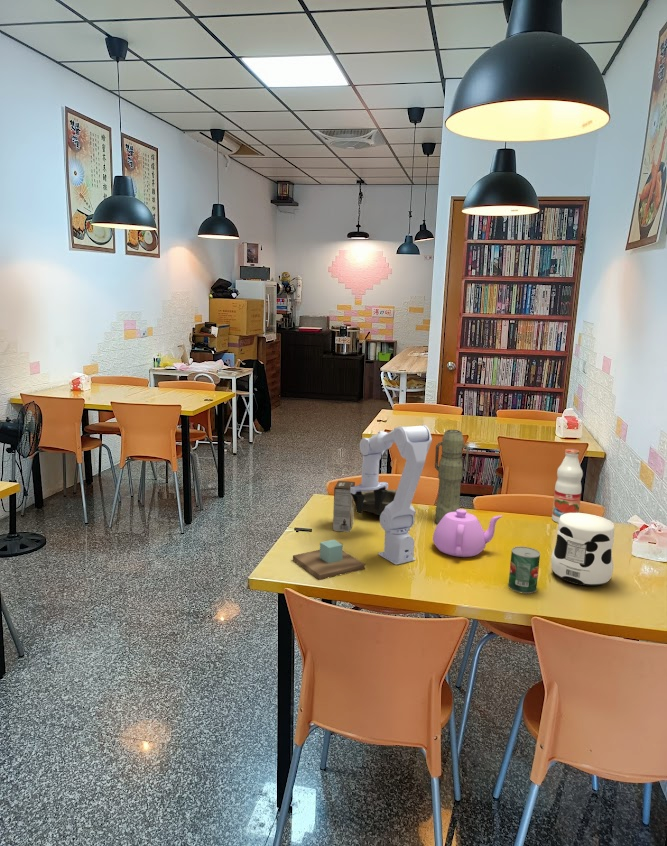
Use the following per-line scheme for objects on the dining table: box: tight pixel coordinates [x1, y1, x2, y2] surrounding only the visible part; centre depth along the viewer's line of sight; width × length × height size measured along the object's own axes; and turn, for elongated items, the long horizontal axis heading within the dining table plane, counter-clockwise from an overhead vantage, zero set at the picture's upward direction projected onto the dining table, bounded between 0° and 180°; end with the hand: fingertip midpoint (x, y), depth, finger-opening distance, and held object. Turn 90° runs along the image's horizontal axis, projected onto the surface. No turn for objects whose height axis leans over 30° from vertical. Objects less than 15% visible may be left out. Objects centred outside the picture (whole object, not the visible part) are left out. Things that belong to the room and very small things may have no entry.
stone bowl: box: [362, 489, 397, 516], centre depth 238 cm, size 25×25×9 cm
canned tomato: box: [507, 546, 541, 594], centre depth 177 cm, size 8×8×11 cm
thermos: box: [434, 429, 470, 526], centre depth 226 cm, size 9×12×35 cm
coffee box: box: [332, 480, 356, 533], centre depth 220 cm, size 9×6×16 cm
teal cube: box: [319, 539, 344, 564], centre depth 189 cm, size 5×5×5 cm
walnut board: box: [292, 549, 366, 581], centre depth 189 cm, size 16×16×2 cm
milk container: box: [550, 512, 615, 587], centre depth 184 cm, size 17×17×18 cm
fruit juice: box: [551, 448, 584, 524], centre depth 234 cm, size 9×9×28 cm
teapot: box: [432, 508, 504, 558], centre depth 202 cm, size 22×22×14 cm
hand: (368, 511), depth 211 cm, fingers open, 7 cm apart
